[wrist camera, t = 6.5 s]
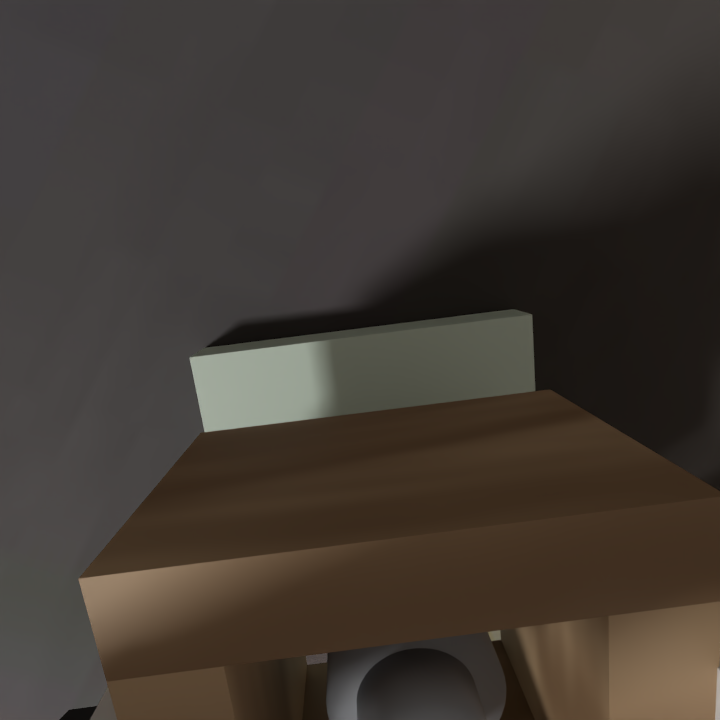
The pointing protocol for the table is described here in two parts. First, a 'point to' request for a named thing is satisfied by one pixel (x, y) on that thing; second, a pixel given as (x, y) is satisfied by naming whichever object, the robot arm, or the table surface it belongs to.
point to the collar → (415, 564)
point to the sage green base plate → (366, 394)
